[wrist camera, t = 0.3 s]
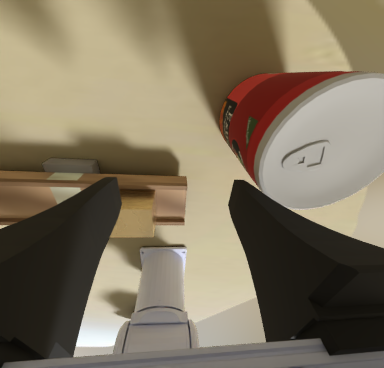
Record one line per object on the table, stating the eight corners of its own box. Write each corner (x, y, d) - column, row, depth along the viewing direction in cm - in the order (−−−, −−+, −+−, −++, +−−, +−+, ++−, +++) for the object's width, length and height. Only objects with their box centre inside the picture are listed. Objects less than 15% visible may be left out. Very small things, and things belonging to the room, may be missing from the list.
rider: (156, 216, 21) (153, 237, 18) (115, 216, 20) (105, 237, 18) (155, 190, 19) (151, 209, 16) (108, 189, 18) (96, 209, 16)
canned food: (205, 100, 17) (239, 131, 8) (284, 54, 15) (444, 23, 6) (232, 160, 21) (274, 227, 12) (296, 128, 19) (405, 178, 10)
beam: (183, 211, 25) (184, 234, 21) (-12, 209, 22) (-48, 235, 19) (186, 163, 21) (188, 181, 17) (-56, 153, 18) (-112, 173, 14)
